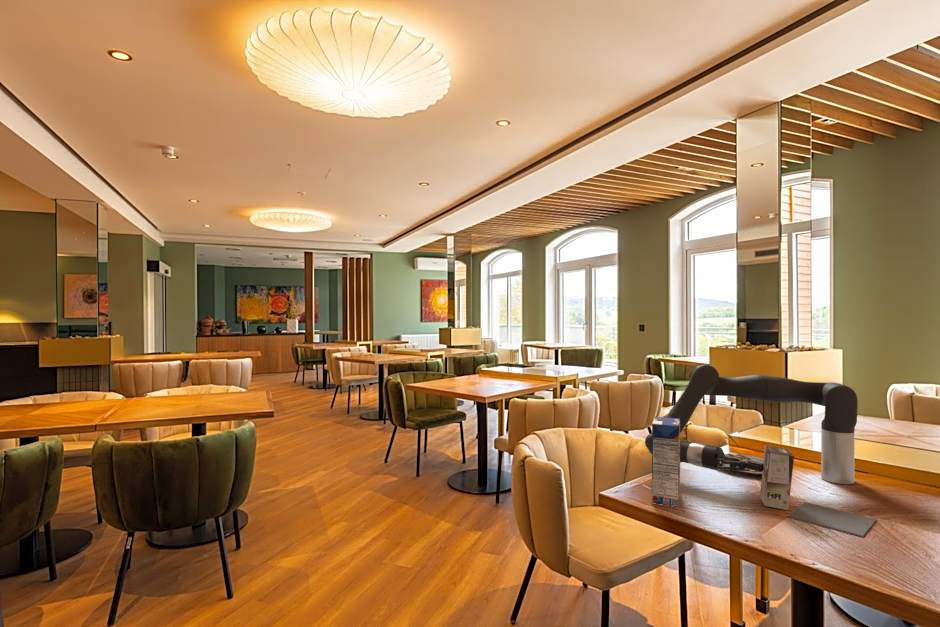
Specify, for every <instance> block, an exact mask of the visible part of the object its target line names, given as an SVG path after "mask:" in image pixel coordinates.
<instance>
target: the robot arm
mask: <svg viewBox="0 0 940 627" xmlns="http://www.w3.org/2000/svg"><path fill="white" fill-rule="evenodd" d="M704 396H719V397H720V396H723V397H725V396H726V397H736V398H740V399H749V400H756V401H761V402H762V401H763V402H768V403H769V402H770V403H771V402H772V403H808V404H813V405H817V406H822V407H824V417H823V419H822V420H821V423H820V424H821V428H820V429H821V431H820V432H821V434H820V435H821V441H820V442H821V443H820V445H821V446H820V447H821V448H820V449H821V451H820V452H821V455H820V456H821V457H820V461H821V463H820V464H821V465H820V468H821V471H820V473H821V474H820V476H821V477H820V478H821V479H822V480H824V481H827V482H830V483H834V484H839V485H853V484H855V453H856V452H855V450H856V449H855V446H856V445H855V444H856V443H855V442H856V439H855V430H856V429H855V428H856V425H857V423H858V411H859V410H858V409H859V407H858V406H859V405H858V404H859V403H858V396H857V394H856V391H855V390H854V389H853V388H851V387H850V386H848V385H845V384H843V383H839V382H817V381H816V382H815V381H801V380H797V379H792V378H787V377H781V376H776V375H775V376H774V375H767V374H751V375H749V374H748V375H742V376H736V377H735V376H734V377H729V376H720V375H719V372H718V370H717V368H716V367H714V366H712V365H710V364H701V365H699V366H697V367H695V368H694V369H693V371H692V372H691V376H690V379H689V382H688V384H687V386H686V387H685V389H684V391H683V392H682V394H681V395H680V397H679V398H678V399H677V401H676V402H675V403H674V404H673V406H672V408H671V409H670V410H669V412H668V413H667V415H666V416H665V418H677V419H680V434H682V432H683V430H684V429H685V427H686V426H687V425H688V422H689V421H690V419H691V418H692V416H693V414H694V412H695V410H696V408H697V407H698V405H699V403H700V402H701V400H702V399H703V398H704ZM644 444H645V447H646V448H647V450H648V451H649V453H650V454H651V455H652V433H649V434H648V435H647V436H646V437H645V439H644ZM736 455H737V456H736ZM736 455H735V454H734V453H731V452H729V453H724V450H723V448H722V447H720V446H715V445H711V444H705V443H701V442H691V441H686V440H680V463H685V464H691V465H693V466H696V467H699V468H705V469H709V470H714V471H720V470H721V469H723V470H729V471H732V470H744V469H745V470H748V469H751V470H755V471H760V472H761V471H763V469H764V467H763V464H762V463H757V462H752V461H750V458H747V457H745V456H743V455H744V454H740V453H738V454H736ZM722 466H723V468H722Z"/></svg>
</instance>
